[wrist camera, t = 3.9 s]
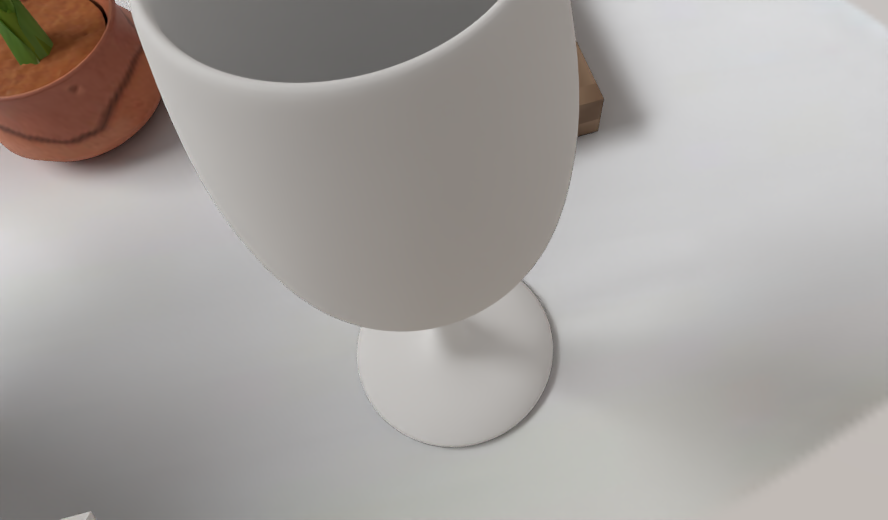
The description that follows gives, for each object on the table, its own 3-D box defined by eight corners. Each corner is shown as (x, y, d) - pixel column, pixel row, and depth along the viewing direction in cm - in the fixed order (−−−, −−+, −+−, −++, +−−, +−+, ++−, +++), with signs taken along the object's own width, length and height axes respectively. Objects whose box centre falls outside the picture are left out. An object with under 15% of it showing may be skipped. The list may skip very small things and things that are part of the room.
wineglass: (571, 282, 29) (670, -229, 11) (526, 473, 26) (551, 227, 7) (393, 241, 31) (205, -256, 12) (329, 415, 28) (-63, 98, 9)
